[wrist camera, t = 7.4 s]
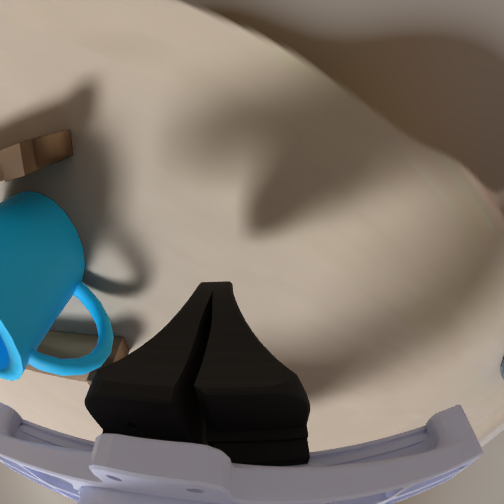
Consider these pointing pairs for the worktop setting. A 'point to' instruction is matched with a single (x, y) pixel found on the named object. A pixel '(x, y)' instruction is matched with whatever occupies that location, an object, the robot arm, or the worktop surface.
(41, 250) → the mug
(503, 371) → the wine bottle
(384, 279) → the worktop surface
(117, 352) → the wooden crate frame
